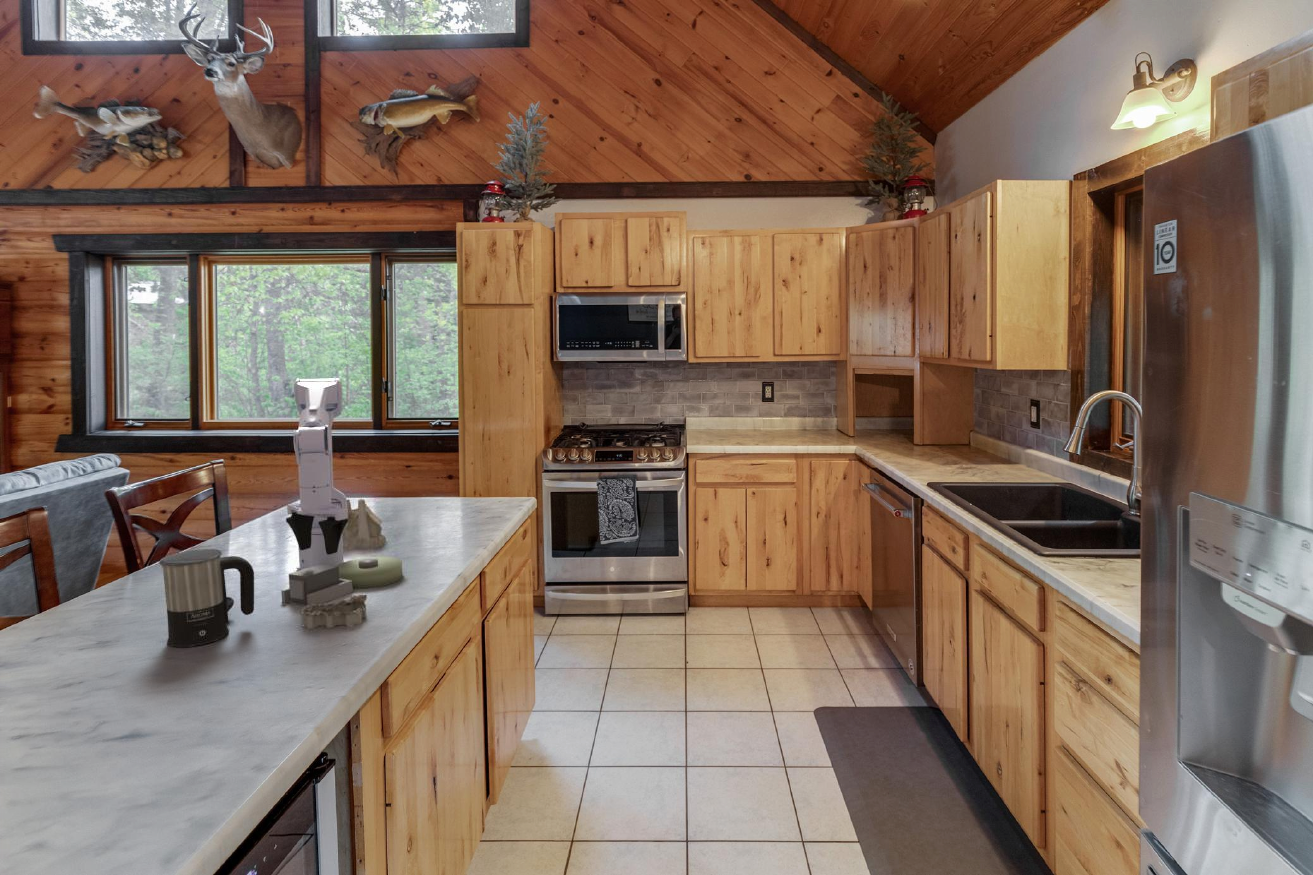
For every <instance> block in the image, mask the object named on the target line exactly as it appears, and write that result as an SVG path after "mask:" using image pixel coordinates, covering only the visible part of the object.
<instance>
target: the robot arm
mask: <svg viewBox="0 0 1313 875" xmlns="http://www.w3.org/2000/svg"><path fill="white" fill-rule="evenodd" d="M293 383H294V384H293V387H294V388H293V394H294V403H295V404H296V409H297V412H298V414H299V419H298V420H299V421H298V429H297V430H296V429H294V431H293V449H294V452H295V453H294V454H295V456H296V458H295V459H296V460H295V461H296V465H297V466H298V471H297V472H298V482H299V483H298V486H299V488H298V489H299V500H300V501H299V503H296V502H295V503H291V504H287V505H286V507H287V508H286V509H287V514H288V515H290V516H289V517H286V518H285V522H286V523H287V524H288V526H289V527H290V529H291V531H292V532H293V535H294V537H295V539H296V542H297V545H298V562H299V566H297V567H296V570H297V571H299V570H303V569H306V568H309V567H312V566H315V565H319V564H328V565H334V566H337V565H339V564H341V563H343V562H345V561H344V558H345V556H344V550H343V537H342V532H343V530H344V528H345V527H346V526H347V525H348V510H347V502H346V500H347V496H346V495H345V493H343V491H340V490H338V489H337V488H335V487H334V468H333V466H334V465H333V437H332V436H333V434H332V426H333V424H334V419H335V418H337V417H340V416H341V415H342V411H343V384H342V383H343V382H342V380H341V379H340V378H339V377H336V378H296V380H294V382H293ZM331 501H339V502H331Z"/></svg>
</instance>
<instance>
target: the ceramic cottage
mask: <svg viewBox="0 0 1313 875" xmlns="http://www.w3.org/2000/svg"><path fill="white" fill-rule="evenodd" d="M331 502H339V501H331ZM346 502H347V510H348V525H347V526H346V527H345V528H344V530H343V532H342V537H343V551H344V550H345V551H346V550H365V548H366V550H367V548H370V549H375V548H379V547H380V548H381V547H382V546H385V545H386V544H385V543H387V537H386V536H385V535H384V534H382V530H383V527H382V526H381V524H382V522H383V521H382V519H381V518H380V517H379V516H377V515H376V513H374V512H373V511H372V509H371V508H370V507H369V506H368V504H366V500H365V499H363V498H359V499H358V500H357V507H356V508H354V509H352V504H351V500H350V499H349V498H346Z"/></svg>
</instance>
